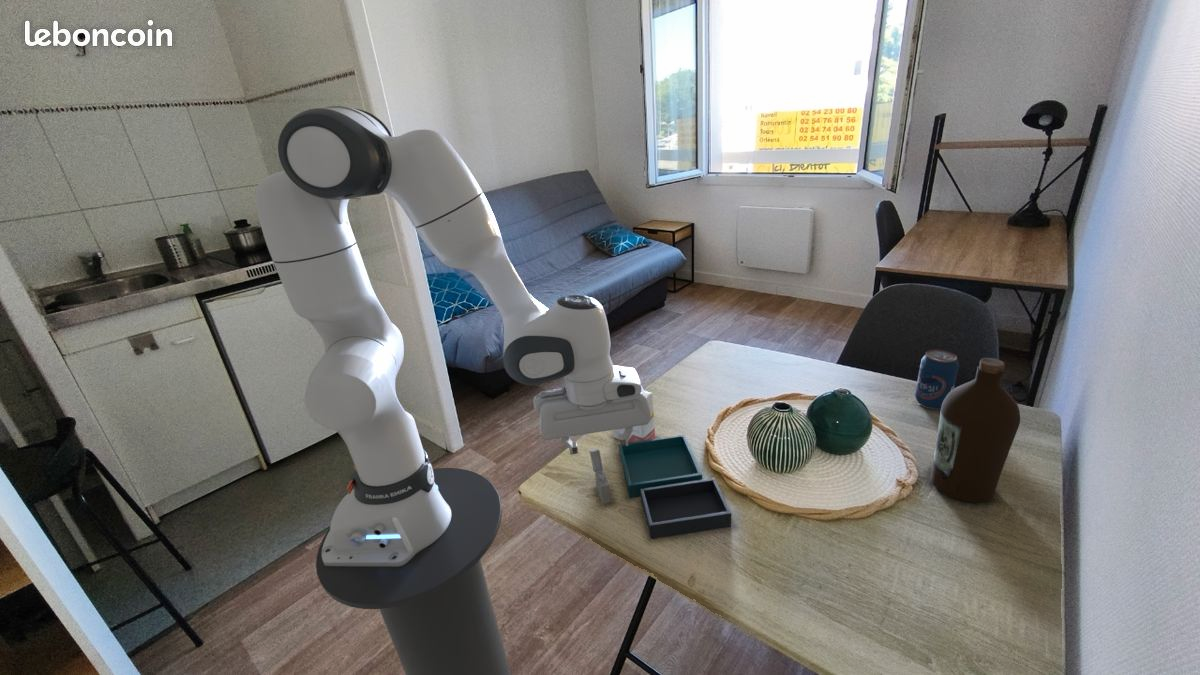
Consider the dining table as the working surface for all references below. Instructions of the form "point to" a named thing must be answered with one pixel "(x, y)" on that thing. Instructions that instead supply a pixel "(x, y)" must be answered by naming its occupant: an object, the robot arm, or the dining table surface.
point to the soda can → (936, 378)
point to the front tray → (684, 508)
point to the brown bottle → (975, 435)
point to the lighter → (600, 477)
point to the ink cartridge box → (641, 426)
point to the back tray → (658, 463)
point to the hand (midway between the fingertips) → (599, 448)
